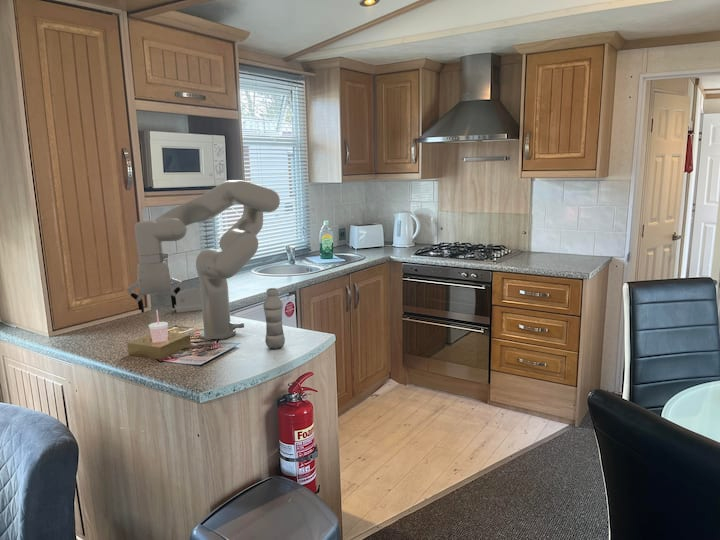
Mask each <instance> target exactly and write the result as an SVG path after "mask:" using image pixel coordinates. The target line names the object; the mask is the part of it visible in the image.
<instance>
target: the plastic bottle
mask: <svg viewBox="0 0 720 540" xmlns="http://www.w3.org/2000/svg"><path fill="white" fill-rule="evenodd" d="M278 289H279V288H276V287H271V288H267V289H266V296H267V297H266V298H265V299H264V302H263V310H264V311H263V312H264V317H265V323H266V325H265V327H266V330H265V331H266V332H265V345H266V346H267V347H268V349H279V348H282V347H284V345H285V343H286V342H285V341H286V337H285V333H284V329H283V328H284V327H283V308H284V307H283V305H284V304H283V301H282V300H281V298H280V297H279V296H278V295H279V290H278Z"/></svg>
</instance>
